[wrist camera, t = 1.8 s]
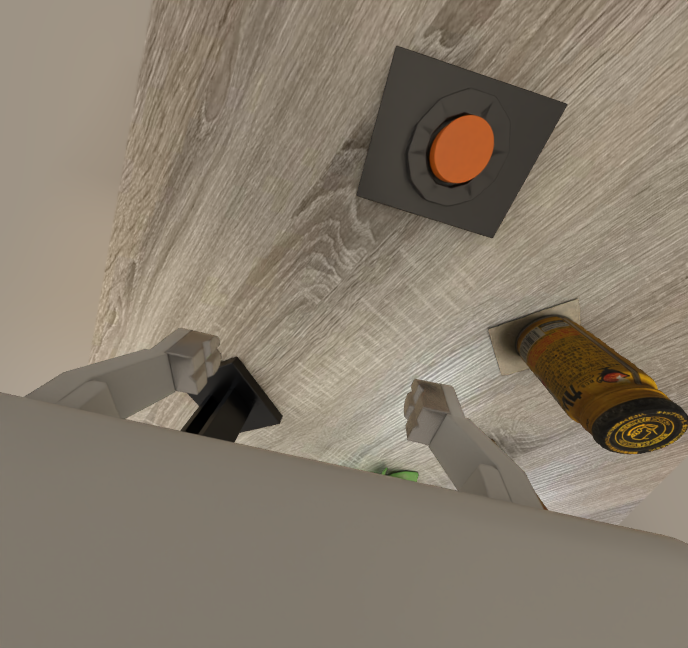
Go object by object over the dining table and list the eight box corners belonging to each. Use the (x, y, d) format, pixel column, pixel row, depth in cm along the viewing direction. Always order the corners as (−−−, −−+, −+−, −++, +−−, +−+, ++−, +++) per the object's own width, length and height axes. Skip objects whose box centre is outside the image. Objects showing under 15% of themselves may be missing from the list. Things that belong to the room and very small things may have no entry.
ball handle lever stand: (182, 374, 37) (99, 459, 26) (237, 356, 34) (170, 442, 23) (231, 428, 42) (179, 518, 31) (282, 416, 39) (245, 510, 28)
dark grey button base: (357, 194, 23) (354, 197, 19) (394, 58, 18) (398, 31, 15) (483, 233, 23) (502, 243, 20) (548, 111, 19) (587, 96, 15)
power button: (420, 174, 19) (424, 173, 17) (443, 112, 17) (450, 106, 15) (467, 189, 19) (475, 190, 17) (494, 130, 17) (506, 125, 15)
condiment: (583, 352, 28) (704, 453, 18) (501, 375, 31) (565, 474, 21) (576, 297, 25) (716, 380, 15) (486, 327, 28) (552, 416, 18)
